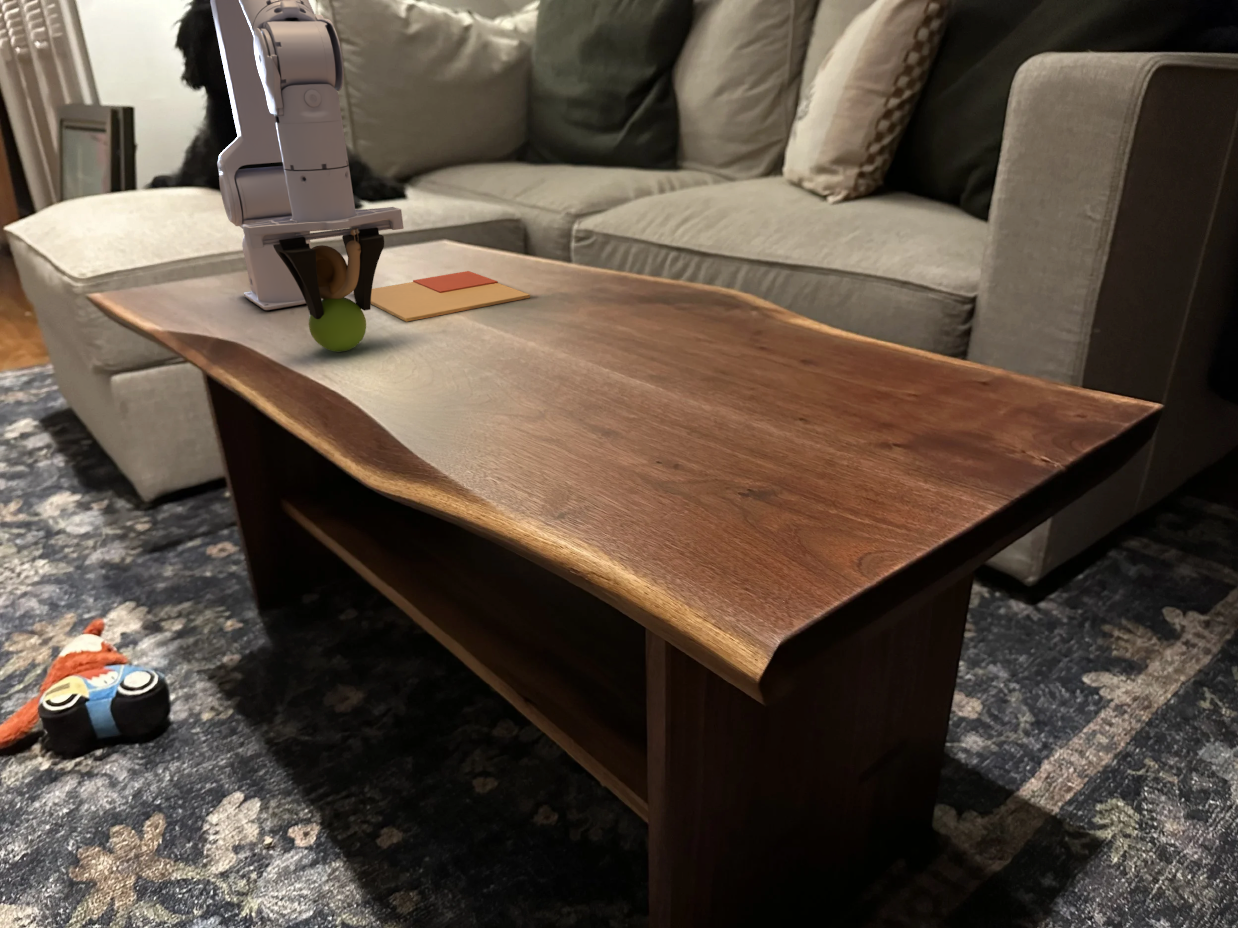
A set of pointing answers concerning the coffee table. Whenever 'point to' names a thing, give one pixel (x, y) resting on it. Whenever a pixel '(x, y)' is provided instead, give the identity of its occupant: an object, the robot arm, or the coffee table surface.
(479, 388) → the coffee table surface
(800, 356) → the coffee table surface
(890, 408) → the coffee table surface
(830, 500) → the coffee table surface
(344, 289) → the snail figurine
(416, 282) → the corner mat
